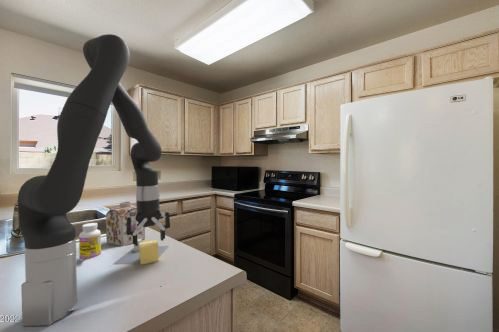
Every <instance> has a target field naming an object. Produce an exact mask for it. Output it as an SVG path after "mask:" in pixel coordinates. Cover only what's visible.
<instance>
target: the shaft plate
mask: <svg viewBox="0 0 499 332" xmlns="http://www.w3.org/2000/svg"><path fill="white" fill-rule="evenodd" d="M137 240H138V246H135V245H134V244H133V248H131V249H130V250H129V251H128V252H126V253H125V254H124V255H122V256H121V257H120V258H119V259H118V260H116V261H115V262H113V265H131V264H132V265H137V264H139V265H141V263H140V259H139V243H141V242H143V240H142V239H137ZM169 247H170V245H158V259H160V258H161V256H162V255H163V254H164V253H165V252H166V251H167V250H168V248H169ZM156 262H157V261H155V262H151V263H146V264H148V265H149V264H152V265H153V264H155V263H156Z"/></svg>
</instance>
